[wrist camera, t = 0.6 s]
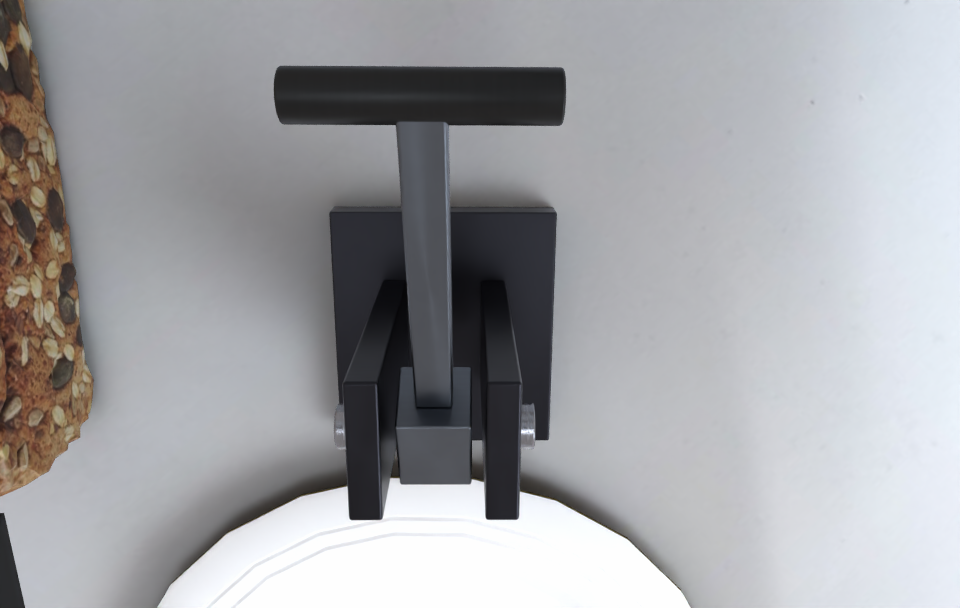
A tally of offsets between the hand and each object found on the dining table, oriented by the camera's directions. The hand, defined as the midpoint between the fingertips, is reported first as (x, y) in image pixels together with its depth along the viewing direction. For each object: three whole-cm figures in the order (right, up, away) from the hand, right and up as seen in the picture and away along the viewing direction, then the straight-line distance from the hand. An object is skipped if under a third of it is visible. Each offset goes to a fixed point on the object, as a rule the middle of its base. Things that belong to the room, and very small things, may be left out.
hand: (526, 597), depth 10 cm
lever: (-2, +5, +11) cm, 12 cm away
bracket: (-2, +3, +23) cm, 24 cm away
